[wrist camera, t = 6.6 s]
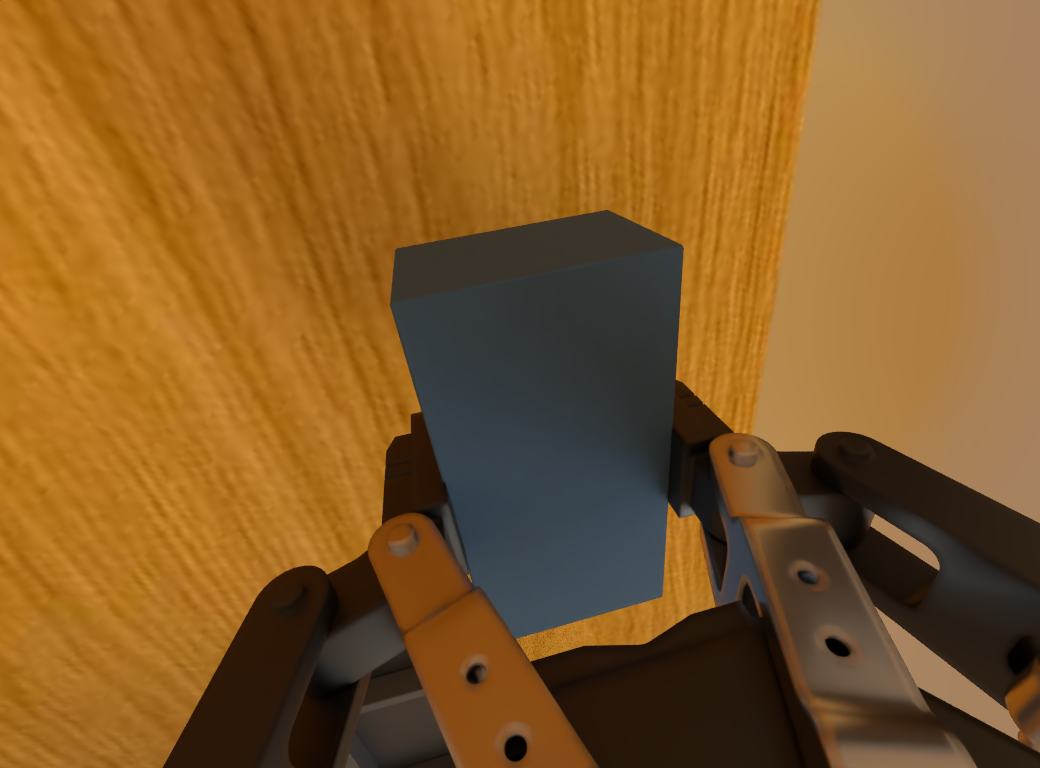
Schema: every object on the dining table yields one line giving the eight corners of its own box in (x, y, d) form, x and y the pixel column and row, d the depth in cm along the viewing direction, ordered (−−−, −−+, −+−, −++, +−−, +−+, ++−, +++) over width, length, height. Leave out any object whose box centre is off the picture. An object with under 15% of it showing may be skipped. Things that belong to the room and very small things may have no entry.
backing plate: (522, 739, 39) (529, 775, 36) (355, 790, 37) (352, 830, 35) (483, 599, 28) (489, 639, 26) (247, 662, 27) (233, 710, 24)
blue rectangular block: (615, 508, 16) (663, 597, 13) (475, 544, 15) (491, 646, 12) (608, 209, 11) (685, 244, 8) (394, 248, 10) (389, 302, 7)
